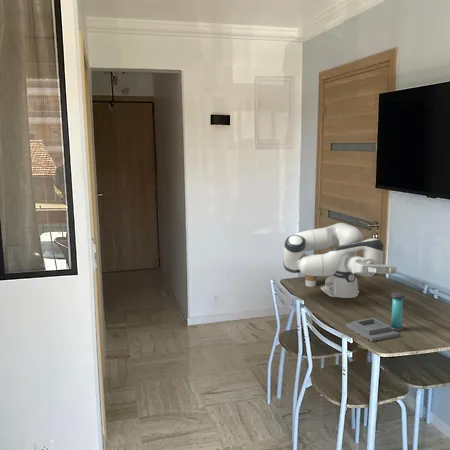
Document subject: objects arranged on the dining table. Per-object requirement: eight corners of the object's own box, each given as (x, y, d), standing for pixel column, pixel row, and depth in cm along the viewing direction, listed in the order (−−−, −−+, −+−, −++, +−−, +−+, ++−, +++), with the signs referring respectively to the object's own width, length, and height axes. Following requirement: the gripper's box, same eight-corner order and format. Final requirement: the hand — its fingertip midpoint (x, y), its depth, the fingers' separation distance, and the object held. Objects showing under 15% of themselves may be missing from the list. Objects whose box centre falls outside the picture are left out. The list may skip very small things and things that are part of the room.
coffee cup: (314, 288, 270) (315, 263, 267) (301, 286, 274) (301, 261, 272) (320, 284, 277) (320, 259, 275) (306, 282, 281) (307, 258, 279)
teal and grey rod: (386, 327, 211) (387, 293, 209) (396, 325, 213) (398, 291, 211) (395, 332, 206) (397, 297, 203) (406, 330, 208) (408, 295, 205)
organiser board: (345, 326, 213) (346, 319, 212) (371, 322, 218) (371, 314, 217) (371, 341, 196) (371, 333, 196) (398, 336, 201) (398, 328, 201)
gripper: (385, 274, 229) (404, 278, 216) (349, 273, 223) (366, 277, 209) (386, 261, 229) (405, 264, 216) (350, 259, 222) (367, 263, 209)
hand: (386, 271), depth 213 cm, fingers open, 8 cm apart
